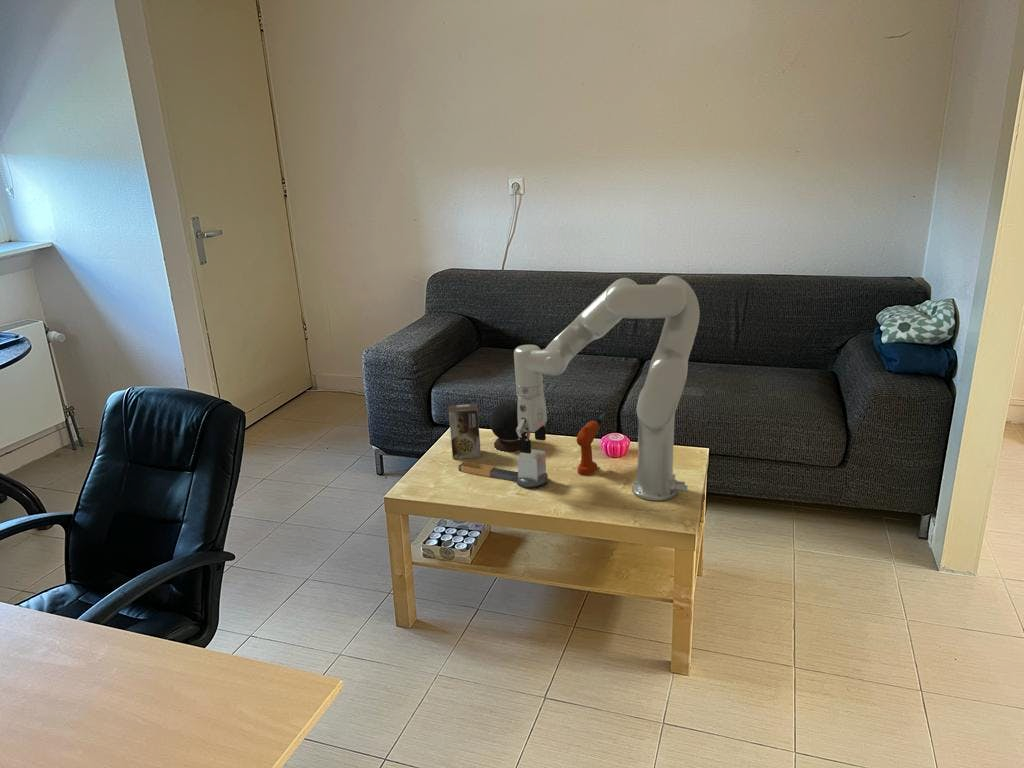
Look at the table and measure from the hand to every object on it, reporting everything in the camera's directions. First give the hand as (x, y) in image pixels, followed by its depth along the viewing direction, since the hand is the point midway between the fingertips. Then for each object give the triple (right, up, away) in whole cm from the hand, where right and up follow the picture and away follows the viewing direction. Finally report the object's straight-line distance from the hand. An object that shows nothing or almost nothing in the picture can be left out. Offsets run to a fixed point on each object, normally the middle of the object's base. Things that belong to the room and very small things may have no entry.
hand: (533, 446), depth 208 cm
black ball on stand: (-6, -2, +30) cm, 31 cm away
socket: (0, -9, +3) cm, 9 cm away
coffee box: (-21, -5, +24) cm, 32 cm away
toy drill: (+19, -7, +14) cm, 24 cm away
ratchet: (-9, -10, +8) cm, 15 cm away
